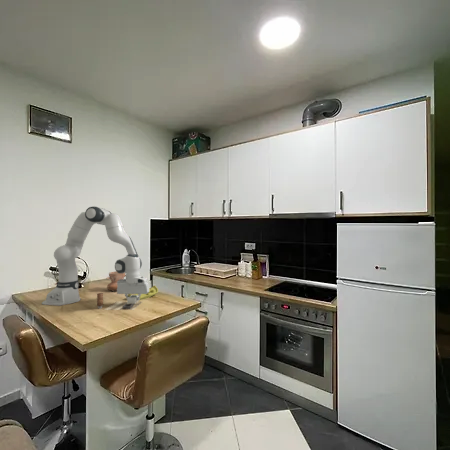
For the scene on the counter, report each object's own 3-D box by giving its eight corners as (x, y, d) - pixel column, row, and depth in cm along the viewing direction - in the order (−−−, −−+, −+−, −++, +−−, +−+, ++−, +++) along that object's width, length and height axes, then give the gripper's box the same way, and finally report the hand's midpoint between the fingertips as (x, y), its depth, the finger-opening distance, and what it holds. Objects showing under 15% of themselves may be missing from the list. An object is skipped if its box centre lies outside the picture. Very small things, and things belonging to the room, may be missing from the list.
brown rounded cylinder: (96, 310, 150) (96, 294, 150) (98, 309, 154) (98, 293, 154) (101, 310, 150) (101, 294, 150) (103, 309, 154) (103, 293, 154)
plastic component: (134, 299, 165) (128, 291, 171) (133, 308, 168) (126, 299, 174) (160, 291, 179) (153, 283, 185) (159, 299, 182) (152, 291, 188)
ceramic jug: (110, 293, 189) (111, 275, 189) (102, 290, 198) (102, 272, 198) (132, 289, 202) (132, 272, 203) (123, 286, 212) (123, 269, 212)
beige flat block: (104, 311, 149) (103, 307, 149) (116, 303, 165) (116, 299, 165) (133, 311, 149) (133, 307, 149) (142, 303, 165) (142, 299, 165)
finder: (135, 303, 158) (135, 297, 158) (127, 303, 158) (127, 297, 158) (138, 300, 164) (138, 294, 164) (131, 300, 164) (131, 294, 164)
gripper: (115, 280, 158) (115, 301, 158) (146, 280, 157) (146, 301, 157) (119, 278, 164) (119, 298, 164) (149, 278, 164) (150, 299, 164)
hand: (133, 300), depth 161 cm, fingers closed on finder, 5 cm apart
